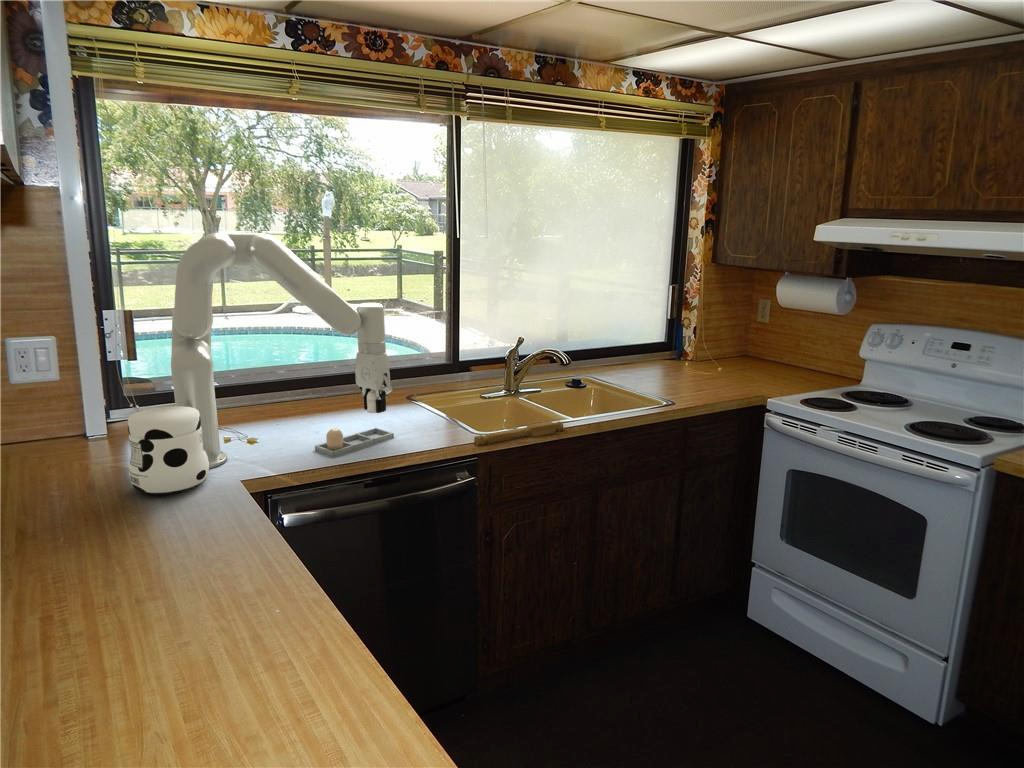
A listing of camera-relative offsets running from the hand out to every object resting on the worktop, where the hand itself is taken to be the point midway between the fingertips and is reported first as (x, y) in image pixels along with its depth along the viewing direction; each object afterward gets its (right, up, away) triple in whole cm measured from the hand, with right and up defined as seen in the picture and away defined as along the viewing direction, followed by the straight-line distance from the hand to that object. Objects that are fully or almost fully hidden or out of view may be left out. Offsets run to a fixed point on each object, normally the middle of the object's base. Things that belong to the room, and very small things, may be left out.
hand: (375, 409), depth 206 cm
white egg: (0, 0, 0) cm, 0 cm away
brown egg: (-9, -11, -9) cm, 17 cm away
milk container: (-43, -18, -32) cm, 56 cm away
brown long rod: (+42, -9, +8) cm, 43 cm away
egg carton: (-5, -10, -3) cm, 12 cm away
